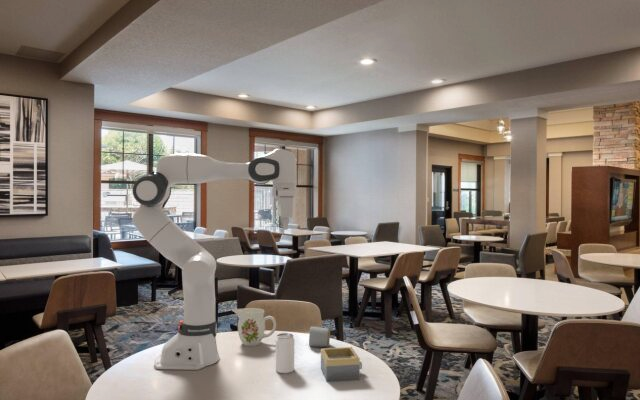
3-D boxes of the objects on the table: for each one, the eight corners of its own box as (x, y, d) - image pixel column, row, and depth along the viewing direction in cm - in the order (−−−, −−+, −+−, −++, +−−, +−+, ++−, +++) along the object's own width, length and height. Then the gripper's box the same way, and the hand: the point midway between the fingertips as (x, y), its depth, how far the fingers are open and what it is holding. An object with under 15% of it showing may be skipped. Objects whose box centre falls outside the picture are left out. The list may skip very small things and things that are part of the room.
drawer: (326, 381, 142) (326, 360, 142) (320, 368, 153) (320, 348, 153) (365, 379, 145) (365, 357, 145) (356, 366, 155) (357, 346, 155)
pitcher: (275, 347, 175) (275, 313, 175) (229, 348, 173) (230, 313, 173) (276, 338, 186) (276, 306, 186) (233, 339, 184) (233, 306, 184)
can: (297, 368, 154) (297, 333, 154) (289, 375, 148) (290, 339, 148) (280, 365, 156) (280, 331, 156) (272, 372, 150) (272, 337, 150)
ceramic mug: (329, 349, 173) (329, 329, 173) (308, 349, 173) (308, 329, 173) (330, 341, 183) (330, 322, 183) (310, 340, 184) (310, 322, 184)
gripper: (274, 192, 175) (274, 226, 175) (278, 191, 155) (277, 230, 155) (290, 192, 176) (289, 226, 176) (295, 191, 156) (295, 230, 156)
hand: (284, 228), depth 165 cm, fingers open, 8 cm apart
